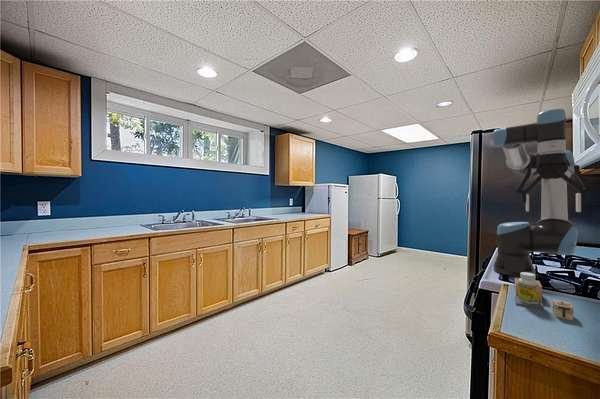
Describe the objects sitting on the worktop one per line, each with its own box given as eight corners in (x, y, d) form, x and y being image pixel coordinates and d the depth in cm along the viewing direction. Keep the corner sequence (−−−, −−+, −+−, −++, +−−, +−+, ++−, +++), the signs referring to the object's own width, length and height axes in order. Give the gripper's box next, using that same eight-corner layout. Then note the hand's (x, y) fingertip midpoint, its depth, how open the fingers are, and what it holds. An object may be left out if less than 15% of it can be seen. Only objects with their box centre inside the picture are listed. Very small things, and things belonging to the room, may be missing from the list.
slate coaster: (514, 297, 96) (514, 295, 96) (540, 301, 92) (540, 300, 92) (516, 304, 90) (516, 303, 90) (543, 309, 86) (543, 307, 86)
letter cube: (552, 311, 84) (552, 299, 84) (570, 315, 82) (570, 302, 82) (554, 317, 81) (554, 304, 81) (573, 320, 79) (573, 307, 78)
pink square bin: (514, 290, 102) (514, 277, 102) (539, 294, 98) (539, 280, 98) (516, 296, 96) (516, 283, 96) (542, 300, 92) (542, 286, 92)
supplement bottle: (540, 301, 90) (540, 273, 90) (536, 306, 87) (536, 277, 87) (520, 296, 95) (520, 270, 94) (516, 301, 91) (515, 273, 91)
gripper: (508, 156, 100) (509, 211, 101) (606, 147, 85) (606, 213, 86) (507, 157, 106) (508, 210, 107) (598, 150, 91) (598, 210, 92)
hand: (551, 211), depth 96 cm, fingers open, 13 cm apart
